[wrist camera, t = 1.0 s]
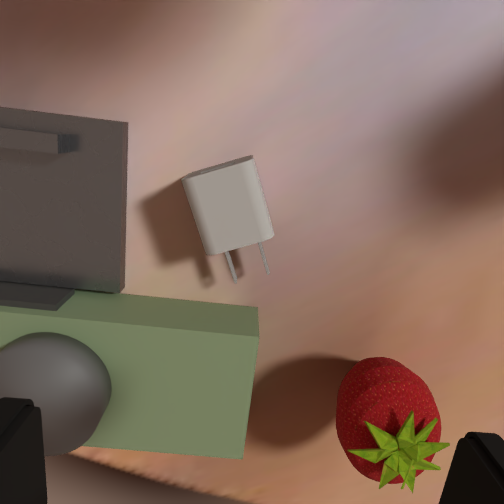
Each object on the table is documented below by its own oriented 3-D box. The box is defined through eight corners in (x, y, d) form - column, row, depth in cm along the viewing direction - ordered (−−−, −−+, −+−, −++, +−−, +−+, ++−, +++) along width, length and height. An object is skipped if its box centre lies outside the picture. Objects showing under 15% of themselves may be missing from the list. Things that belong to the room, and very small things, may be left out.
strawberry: (324, 417, 30) (361, 554, 20) (315, 327, 27) (351, 434, 18) (403, 407, 29) (478, 540, 20) (400, 316, 27) (483, 418, 18)
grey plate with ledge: (-83, 97, 23) (-121, 93, 20) (128, 122, 23) (114, 121, 21) (-61, 268, 26) (-92, 282, 23) (124, 287, 26) (112, 302, 24)
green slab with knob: (-108, 264, 26) (-210, 303, 20) (258, 302, 27) (261, 349, 21) (-88, 387, 28) (-173, 452, 23) (243, 416, 30) (242, 485, 24)
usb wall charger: (252, 154, 24) (253, 159, 20) (281, 258, 26) (286, 281, 22) (189, 172, 24) (178, 181, 20) (223, 274, 26) (218, 299, 22)
